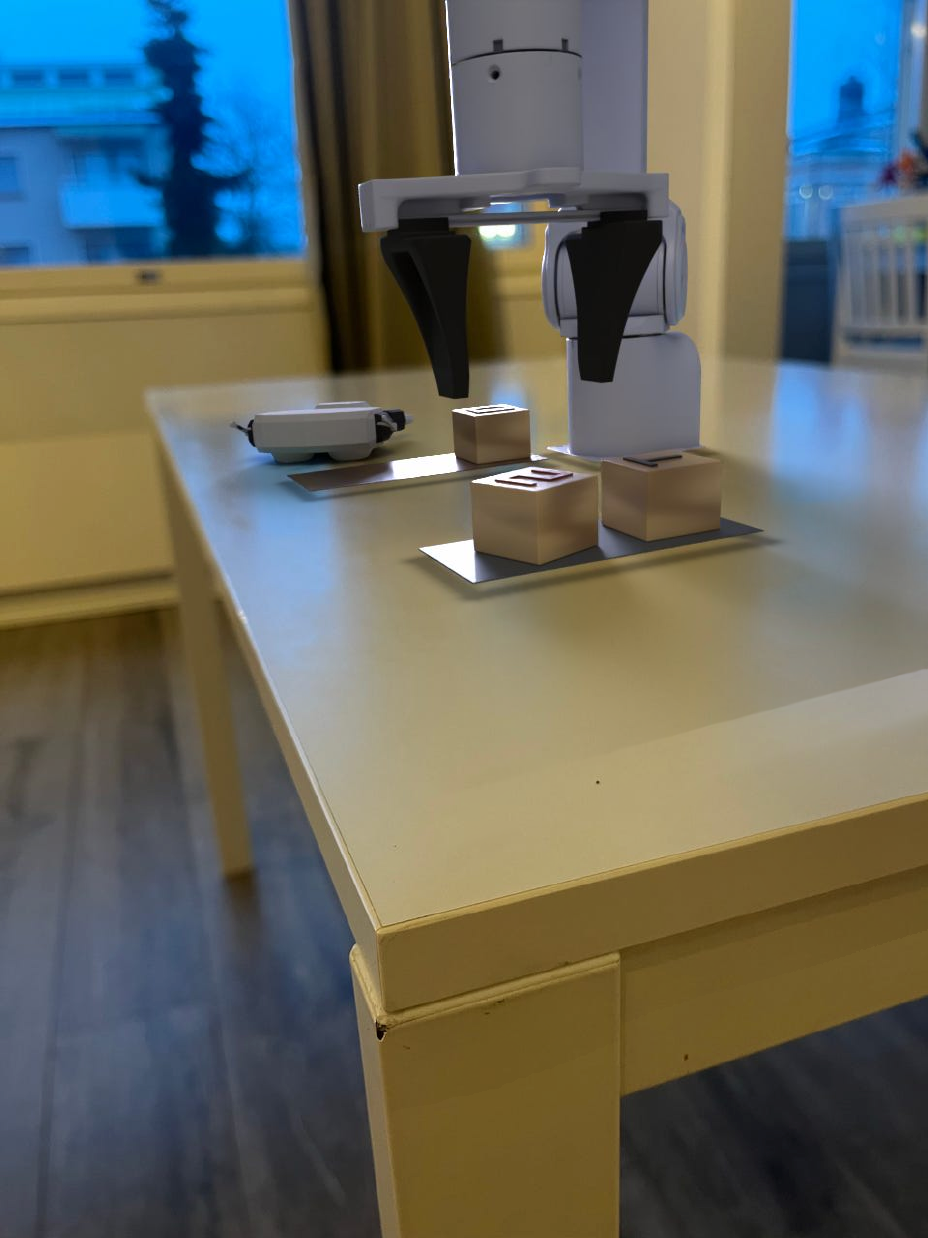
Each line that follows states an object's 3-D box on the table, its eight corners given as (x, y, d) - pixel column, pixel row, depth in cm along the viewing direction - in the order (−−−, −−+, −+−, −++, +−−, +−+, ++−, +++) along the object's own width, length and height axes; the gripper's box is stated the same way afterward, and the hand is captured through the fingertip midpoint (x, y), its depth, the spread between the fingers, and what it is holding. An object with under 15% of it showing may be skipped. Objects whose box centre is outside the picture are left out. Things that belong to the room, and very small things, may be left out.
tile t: (670, 513, 52) (671, 446, 51) (720, 529, 48) (723, 458, 47) (600, 524, 51) (600, 456, 50) (646, 542, 47) (647, 469, 46)
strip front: (682, 515, 54) (682, 504, 54) (764, 541, 48) (764, 529, 48) (418, 559, 49) (417, 548, 48) (473, 596, 42) (472, 583, 42)
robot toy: (291, 453, 88) (230, 473, 73) (287, 403, 86) (224, 413, 72) (423, 449, 86) (386, 468, 71) (420, 397, 85) (382, 406, 70)
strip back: (508, 453, 76) (508, 446, 76) (549, 466, 70) (549, 458, 70) (287, 482, 70) (286, 474, 70) (311, 499, 64) (309, 491, 64)
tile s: (533, 532, 50) (530, 464, 49) (599, 545, 47) (598, 472, 46) (473, 551, 47) (468, 479, 46) (539, 566, 44) (537, 489, 43)
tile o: (506, 449, 75) (504, 402, 74) (531, 457, 71) (529, 408, 70) (454, 456, 73) (451, 408, 72) (477, 464, 69) (474, 414, 68)
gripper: (386, 38, 35) (414, 413, 40) (712, 49, 40) (704, 380, 45) (333, 78, 41) (363, 398, 46) (622, 83, 46) (623, 370, 51)
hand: (527, 388), depth 46 cm, fingers open, 7 cm apart
